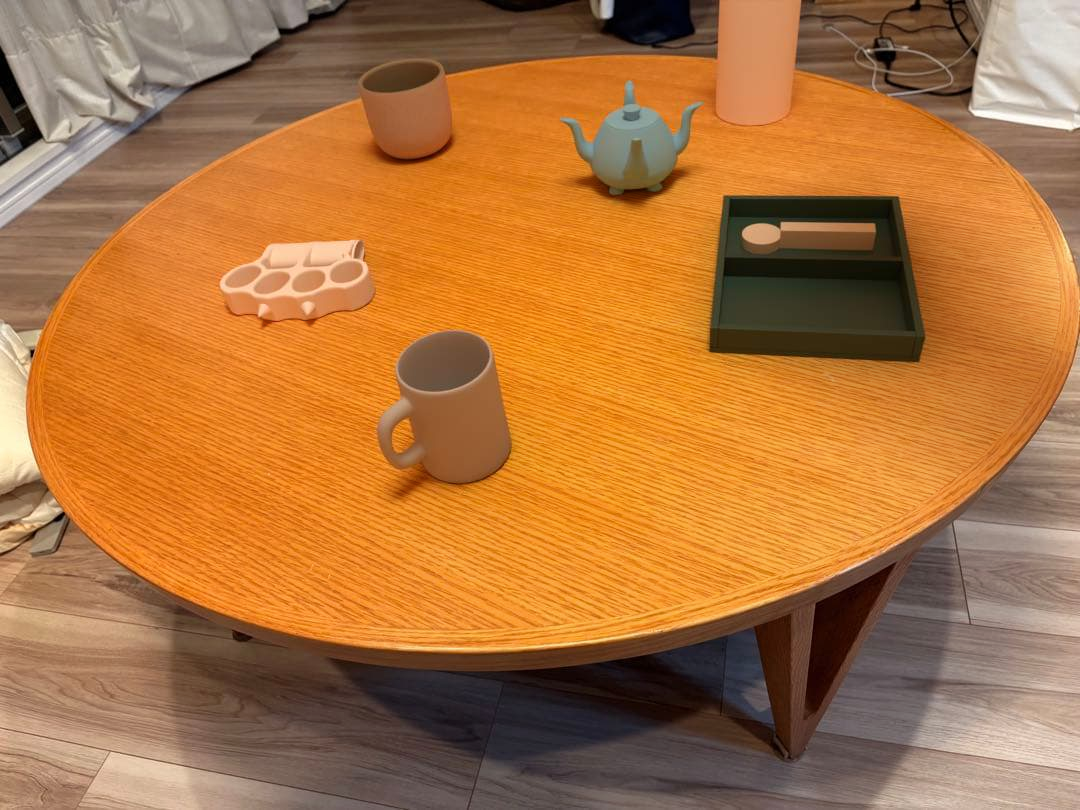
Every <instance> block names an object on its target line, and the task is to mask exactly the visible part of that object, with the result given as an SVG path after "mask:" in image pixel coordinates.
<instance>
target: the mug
mask: <svg viewBox="0 0 1080 810" xmlns="http://www.w3.org/2000/svg"><path fill="white" fill-rule="evenodd" d="M394 374H395V378H396V382H397V386H398V390H399V394H400V398H399V400H397V401H396V402H395V403H393V404H392V405H390V406H389V407H388V408H387V409H386V410H385V411H384V412H383V413H382V414H381V415H380V417H379V419H378V421H377V425H376V426H377V427H376V435H377V442H378V445H379V449H380V451H381V453H382V455H383V457H384V459H385V460H386V462H388V464H389V465H390V466H391V467H394V469H397V470H408V469H410V468H412V467H414V466H415V465H417V464H419V463H420V462H421V463H422V466H423V467H424V469H425V470H426V471H427V472H428V473H429V474H430V475H431V476H433V477H434V478H435V479H437V480H440V481H442V482H446V483H451V484H468V483H473V482H476V481H477V482H478V481H480V480H482V479H485V478H487V477H488V476H490V475H492V474H493V473H495V472H496V471H498V470H499V469H500V468H501V467H502V466H503V465H504V463H505V462H506V460H507V459H508V457H509V455H510V452H511V448H512V438H511V432H510V427H509V423H508V419H507V414H506V408H505V404H504V399H503V394H502V390H501V385H500V384H501V383H500V379H499V374H498V370H497V364H496V359H495V353H494V351H493V348H492V346H491V345H490V343H489V342H488V341H487V340H486V339H485V338H483V337H482V336H481V335H479V334H477V333H474V332H472V331H467V330H461V329H447V330H440V331H435V332H432V333H429V334H426V335H424V336H421V337H420V338H418V339H416V340H414V341H412V343H410V344H409V345H408V346H407V347H405V348H404V349H403V350H402V352H401V353H400V354H399V356H398V357H397V360H396V362H395V368H394ZM405 420H408V421H409V426H410V429H411V431H412V436H413V440H414V441H413V443H412V444H411V445H410V446H409V447H408V448H406V449H405V450H404V451H401V452H396V451H395V449H394V445H393V432H394V430H395V429H396V427H397V426H398V425H399V424H400V423H401V422H403V421H405Z"/></svg>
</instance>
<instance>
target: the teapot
mask: <svg viewBox="0 0 1080 810" xmlns="http://www.w3.org/2000/svg"><path fill="white" fill-rule="evenodd" d="M623 97H624V98H623V104H622V108H619V109H616V110H614V111H611V112H610V113H609V114H608V115H607V116H606V117H605V118H604V120H603V122H602V123H601V124H600V127H599V128H598V130H597V132H596V134H595V137H594V138H593V141H592V142H590V141H588V140H586V139H585V137H584V135H583V130H582V127H581V125H580V123H579V122H578V121H577V120H576V119H575V118H571V117H559V118H558V120H559V121H560V122H562V123H564V124H566V125H567V127H569V129H570V131H571V133H572V137H573V142H574V146H575V150H576V152H577V154H578V156H579V157H580V159H582V160H583V161H584V162H585V163H587V164H589V166H590V169H591V171H592V173H593V175H594V176H595V177H596V178H597V179H599V180H600V181H601V182H602V183H604V184H605V185H607V186H609V187H610V188H609V189H608V193H609V194H610V195H612V196H619V195H621V194H623V193H624V192H625V190H639V189H645V188H646V190H647V191H649V192H659V191H660V190H662V189H663V186H662V183H661V182H662V181H664V180H665V179H667V177H669V175H670V174H671V173H672V172H673V170H674V169H675V168H676V166H677V164H678V159H679V158H678V157H679V156H680V155H681V154H682V153H683V152H684V151H685V150H686V149H687V147H688V145H689V143H690V138H691V127H692V125H691V124H692V118H693V115H694V113H695V112H696V110H698V109H699V107H701V106H702V105H703V101H697V102H695V103H692V104H690V105H688V106H687V107H686V108H685V109H684V110H683V112H682V114H681V120H680V127H679V130H678V131H677V132H676V133H675V134H673V133H672V131H671V129H670V127H669V126H668V125H667V123H666V122H665V121H664V119H663V117H662V116H661V115H660V114H659V113H658V112H657V111H656V110H654V109H653V108H650V107H645V106H641V105H640V104H637V101H636V95H635V87H634V83H633V81H632V80H627V81H626V82H625V84H624V96H623Z"/></svg>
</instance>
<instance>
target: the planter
mask: <svg viewBox="0 0 1080 810" xmlns="http://www.w3.org/2000/svg"><path fill="white" fill-rule="evenodd" d="M446 77H447V76H446V73H445V68H444V66H443V64H442V63H440V62H439V61H437V60H433V59H429V58H404V59H398V60H392V61H390V62H386V63H385V62H384V63H383V64H380V65H377V66H375V67H372V68H371V69H369V70H368V71H366V72H364V73H363V74H362V75H361V76H360V77H359V78H358V81H357V87H358V91H359V94H360V98H361V102H362V105H363V109H364V112H365V113H364V114H365V116H366V119H367V122H368V125H369V126H368V127H369V130H370V132H371V134H372V136H373V140H374V141H375V143H376V144H377V145H378V147H379V148H380V149H381V150H382V151H383V152H384V153H386V154H387V155H389V156H391V157H392V158H396V159H399V160H400V159H401V160H414V159H421V158H425V157H428V156H430V155H431V156H432V155H433V154H435V153H437V152H438V151H440V150H441V149H442V148H443V147H444V146H446V144H447V143H448V141H449V139H450V137H451V136H452V135H451V134H452V129H453V113H452V106H451V100H450V93H449V89H448V83H447V78H446Z"/></svg>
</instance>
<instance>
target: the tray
mask: <svg viewBox="0 0 1080 810" xmlns="http://www.w3.org/2000/svg"><path fill="white" fill-rule="evenodd" d="M781 222H810V223H875V228H876V235H875V240H874V245H873V250H826V249H780V248H779V249H778V250H777V251H775V252H773V253H769V254H753V253H750V252H748V251H746V250H745V249H743V247H742V245H741V240H742V232H743V230H744V229H745V228H746V227H748V226H750V225H753V224H759V223H764V224H770V225H774V226H776V227H777V228H779V229H780V226H781ZM719 226H720V227H719V235H718V236H719V237H718V246H717V254H716V255H717V256H716V266H715V276H714V286H713V296H712V307H711V315H710V326H709V345H708V346H709V347H708V348H709V349H708V351H709V353H724V354H726V353H727V354H745V355H765V356H768V355H770V356H787V357H788V356H790V357H808V358H831V359H850V360H851V359H853V360H868V361H869V360H871V361H891V362H892V361H893V362H911V363H912V362H914V363H920V359H921V356H922V351H923V348H924V344H925V340H926V332H925V326H924V321H923V315H922V310H921V306H920V300H919V296H918V291H917V285H916V281H915V273H914V270H913V269H914V268H913V264H912V259H911V254H910V249H909V243H908V238H907V234H906V227H905V222H904V216H903V212H902V206H901V201H900V197H899V195H750V194H749V195H748V194H747V195H746V194H745V195H743V194H741V195H737V194H731V195H729V194H726V195H725V194H724V195H723V196H722V206H721V217H720V225H719Z"/></svg>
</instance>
